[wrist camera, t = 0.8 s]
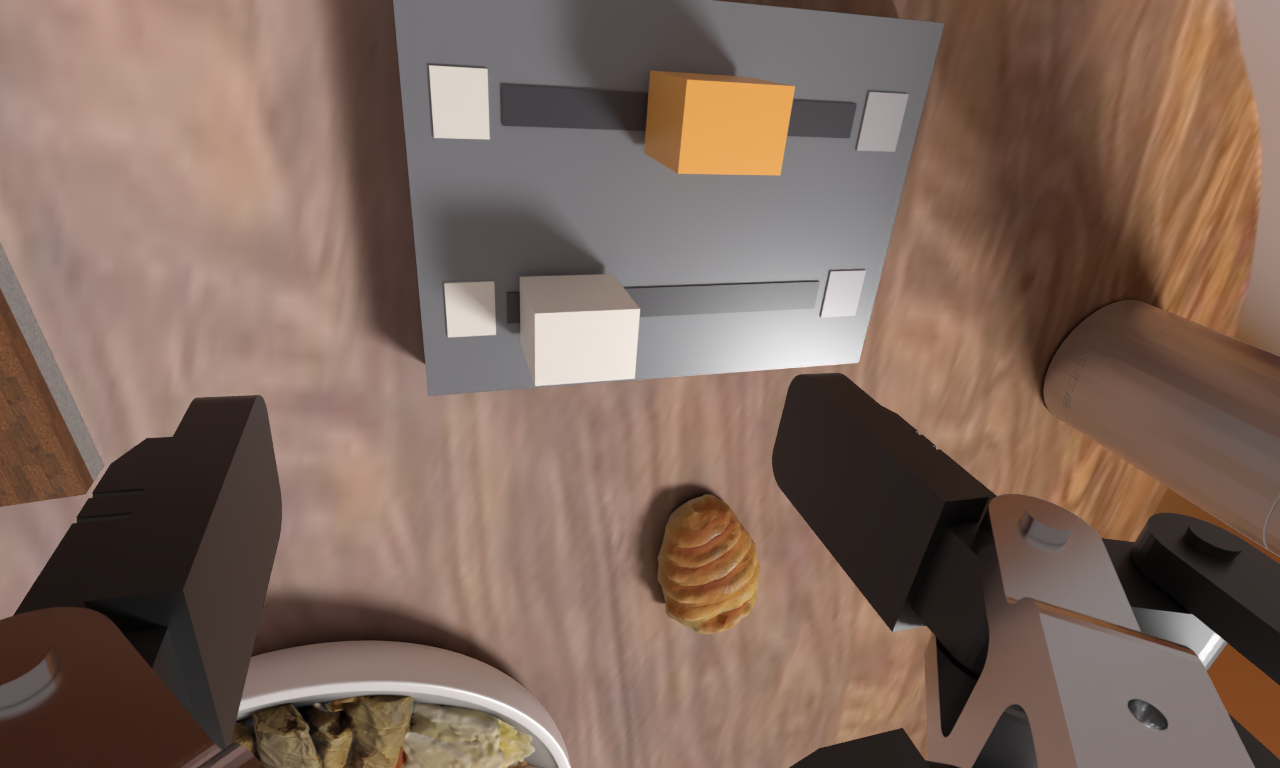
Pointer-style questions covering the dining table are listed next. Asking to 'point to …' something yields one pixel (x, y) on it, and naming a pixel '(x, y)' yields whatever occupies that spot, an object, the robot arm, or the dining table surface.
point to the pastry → (707, 566)
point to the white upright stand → (36, 411)
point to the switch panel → (650, 178)
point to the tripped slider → (717, 123)
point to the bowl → (390, 710)
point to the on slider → (578, 329)
